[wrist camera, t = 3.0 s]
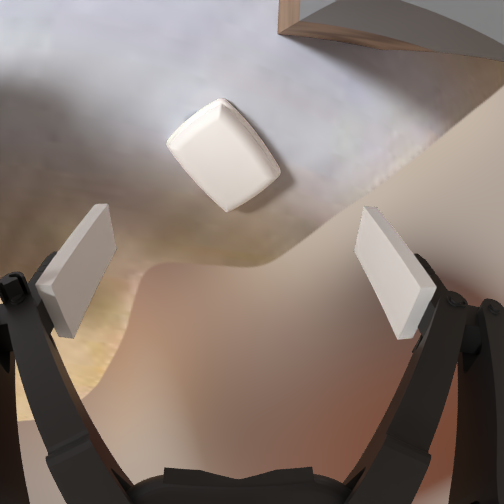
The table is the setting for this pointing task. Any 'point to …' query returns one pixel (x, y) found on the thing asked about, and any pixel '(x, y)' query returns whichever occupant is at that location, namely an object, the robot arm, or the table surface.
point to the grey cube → (420, 22)
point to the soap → (223, 155)
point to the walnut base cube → (334, 31)
